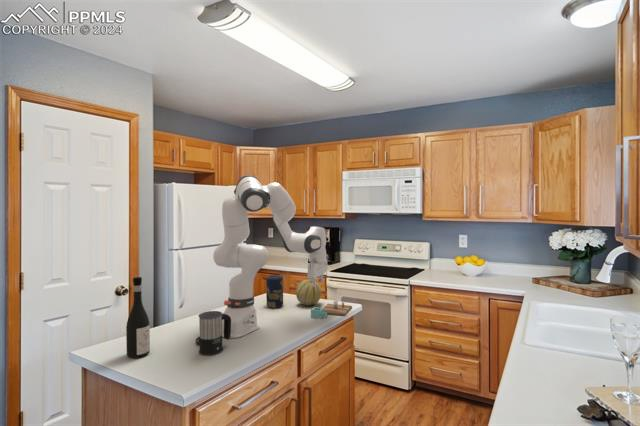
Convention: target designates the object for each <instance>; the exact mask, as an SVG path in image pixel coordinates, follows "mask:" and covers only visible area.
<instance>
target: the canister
mask: <svg viewBox="0 0 640 426" xmlns="http://www.w3.org/2000/svg"><path fill="white" fill-rule="evenodd" d="M265 281H266V283H265V284H266V285H265V287H266V292H265V293H266V307H268V308H273V309H276V308H281V307H282V306H283V305H284V277H283V276H281V275H278V274H272V275H269V276H267V277H266V280H265Z"/></svg>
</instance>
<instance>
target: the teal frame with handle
mask: <svg viewBox="0 0 640 426" xmlns="http://www.w3.org/2000/svg"><path fill="white" fill-rule="evenodd" d="M310 318H311V319H319V318H320V319H323V318H325V319H327V318H328V315H327V312H324V308H323V307H312V308H311V309H310Z"/></svg>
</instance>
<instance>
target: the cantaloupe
mask: <svg viewBox="0 0 640 426" xmlns="http://www.w3.org/2000/svg"><path fill="white" fill-rule="evenodd" d="M316 283H317V284H316V286H315V287H313V286H312V281H311V279H308V278H307V279H304V280H301V282H299V283H298V285H297V287H296V290H295V297H296V299H297V301H298V302H300V304H302V305H304V306H308V307H309V306H313V305H315V304H317V303H318V302H319V301H320V299H321V296H322V287H321V285H320V284H319V282H317V281H316Z"/></svg>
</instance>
